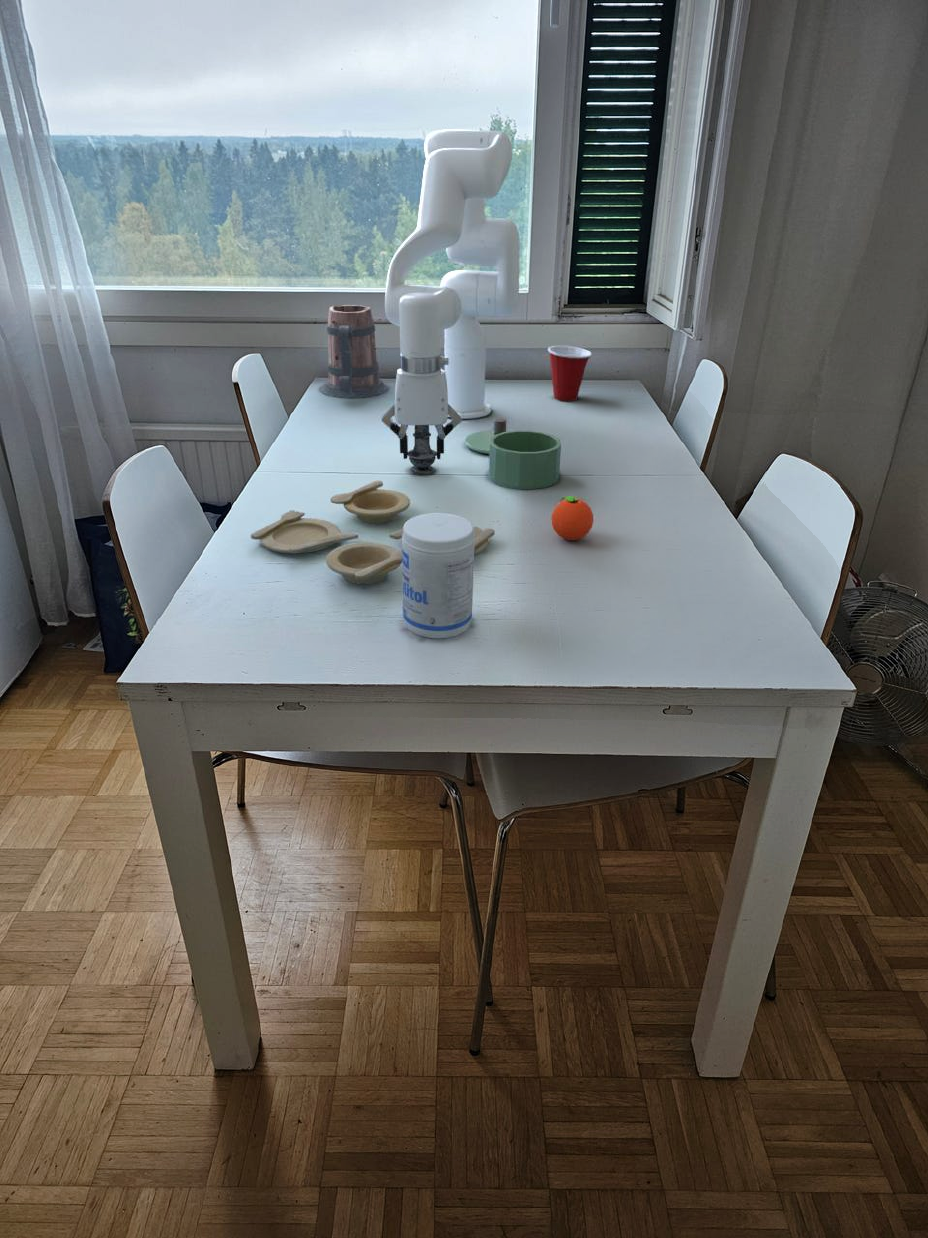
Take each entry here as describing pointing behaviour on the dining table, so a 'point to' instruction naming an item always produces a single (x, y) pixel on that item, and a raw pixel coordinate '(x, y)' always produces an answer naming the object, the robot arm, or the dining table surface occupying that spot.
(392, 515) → the tableware set
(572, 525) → the clementine
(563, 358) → the plastic cup
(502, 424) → the lid
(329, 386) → the tankard
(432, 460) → the salt shaker
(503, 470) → the bowl
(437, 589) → the supplement tub
